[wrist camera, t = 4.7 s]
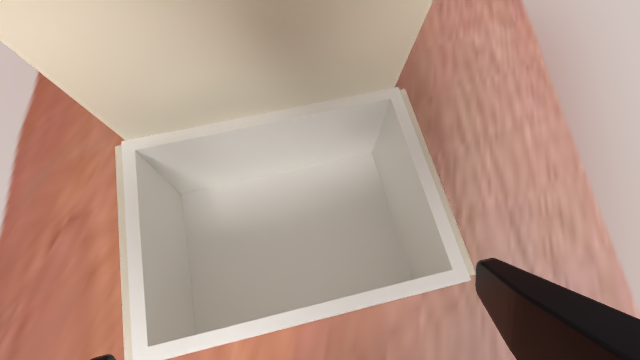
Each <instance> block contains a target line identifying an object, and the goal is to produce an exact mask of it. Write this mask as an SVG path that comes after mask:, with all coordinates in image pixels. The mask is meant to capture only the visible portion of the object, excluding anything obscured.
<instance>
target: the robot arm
mask: <svg viewBox="0 0 640 360" xmlns="http://www.w3.org/2000/svg"><path fill="white" fill-rule="evenodd" d="M475 286H476V291H477V294H478V296H479V298H480V299H481V301H482V303H483V305H484V306H485V308H486V310H487V311H488V313H489V315H490V317H491V318H492V320H493V322H494V324H495V325H496V327H497V329H498V330H499V332H500V334H501V336H502V337H503V339H504V341H505V342H506V344H507V346H508V347H509V349H510V351H511V352H512V353H513V355H514V356H515V358H516V359H517V360H640V319H638V318H635V317H633V316H630V315H628V314H626V313H623V312H621V311H619V310H616V309H614V308H612V307H609V306H607V305H604V304H602V303H600V302H597V301H595V300H593V299H590V298H588V297H586V296H583V295H581V294H578V293H576V292H574V291H571V290H569V289H567V288H564V287H562V286H560V285H557V284H555V283H552V282H550V281H548V280H545V279H543V278H541V277H538V276H536V275H534V274H531V273H529V272H526V271H524V270H522V269H519V268H517V267H515V266H512V265H510V264H507V263H505V262H503V261H500V260H498V259H495V258H489V259H485V260H481V261H479V262H478V263H477V265H476V284H475ZM91 360H116V359H115V358H114V356H112V355H111V354H107V355H103V356H99V357H95V358H93V359H91Z"/></svg>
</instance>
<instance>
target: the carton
mask: <svg viewBox="0 0 640 360" xmlns="http://www.w3.org/2000/svg"><path fill="white" fill-rule="evenodd" d="M121 144H122V145H120V146H115V155H116V178H117V200H118V223H119V245H120V268H121V291H122V313H123V336H124V359H125V360H165V359H169V358H172V357H176V356H180V355H184V354H188V353H192V352H196V351H200V350H203V349H207V348H211V347H215V346H219V345H223V344H227V343H231V342H234V341H238V340H242V339H246V338H250V337H254V336H258V335H262V334H265V333H269V332H273V331H277V330H281V329H285V328H289V327H293V326H297V325H300V324H304V323H308V322H312V321H316V320H320V319H324V318H328V317H331V316H335V315H339V314H343V313H347V312H351V311H355V310H359V309H362V308H366V307H370V306H374V305H378V304H382V303H386V302H390V301H393V300H397V299H401V298H405V297H409V296H413V295H417V294H421V293H424V292H428V291H432V290H436V289H440V288H444V287H448V286H452V285H455V284H459V283H463V282H467V281H471V279H470V276H471V275H474V274H476V273H475V270H474V268H473V265H472V262H471V260H470V257H469V255H468V252H467V249H466V247H465V244H464V241H463V239H462V236H461V234H460V231H459V228H458V226H457V223H456V221H455V218H454V215H453V213H452V210H451V208H450V205H449V202H448V200H447V197H446V195H445V192H444V189H443V187H442V184H441V181H440V179H439V176H438V174H437V171H436V168H435V166H434V163H433V161H432V158H431V155H430V153H429V150H428V148H427V145H426V142H425V140H424V137H423V134H422V132H421V129H420V127H419V124H418V121H417V119H416V116H415V114H414V111H413V108H412V106H411V103H410V101H409V98H408V95H407V93H406V90H405V89H401V90H399V87H394V88H389V89H384V90H379V91H374V92H369V93H364V94H359V95H354V96H349V97H344V98H339V99H334V100H328V101H323V102H318V103H313V104H308V105H303V106H298V107H293V108H288V109H283V110H278V111H273V112H268V113H263V114H258V115H253V116H248V117H243V118H238V119H232V120H227V121H222V122H217V123H212V124H207V125H202V126H197V127H192V128H187V129H182V130H177V131H172V132H167V133H162V134H157V135H152V136H147V137H141V138H136V139H131V140H126V141H121Z"/></svg>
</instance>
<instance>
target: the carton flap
mask: <svg viewBox="0 0 640 360" xmlns="http://www.w3.org/2000/svg"><path fill="white" fill-rule="evenodd" d="M432 2H433V0H0V41H2V42H3V43H4V44H5V45H7V46H8V47H9V48H10V49H12V50H13V51H14V52H15V53H17V54H18V55H19V56H20V57H22V58H23V59H24V60H25V61H27V62H28V63H29V64H30V65H32V66H33V67H34V68H36V69H37V70H38V71H39V72H40V73H42V74H43V75H44V76H45V77H47V78H48V79H49V80H50V81H52V82H53V83H54V84H55V85H57V86H58V87H59V88H60V89H62V90H63V91H64V92H65V93H67V94H68V95H69V96H70V97H72V98H73V99H74V100H75V101H77V102H78V103H79V104H80V105H82V106H83V107H84V108H85V109H87V110H88V111H89V112H91V113H92V114H93V115H94V116H96V117H97V118H98V119H99V120H101V121H102V122H103V123H104V124H106V125H107V126H108V127H109V128H111V129H112V130H113V131H114V132H116V133H117V134H118V135H119V136H121V137H122V138H123V139H124V140H131V139H136V138H141V137H146V136H151V135H156V134H161V133H166V132H171V131H176V130H181V129H186V128H191V127H196V126H202V125H207V124H212V123H217V122H222V121H227V120H232V119H237V118H242V117H247V116H252V115H257V114H262V113H267V112H272V111H277V110H282V109H287V108H293V107H298V106H303V105H308V104H313V103H318V102H323V101H328V100H333V99H338V98H343V97H348V96H353V95H358V94H363V93H368V92H373V91H379V90H384V89H389V88H394V87H395V85H396V83H397V81H398V78H399V76H400V74H401V72H402V69H403V67H404V65H405V63H406V60H407V58H408V56H409V54H410V51H411V49H412V47H413V45H414V42H415V40H416V38H417V36H418V33H419V31H420V29H421V27H422V24H423V22H424V20H425V18H426V16H427V13H428V11H429V9H430V7H431V4H432Z"/></svg>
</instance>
